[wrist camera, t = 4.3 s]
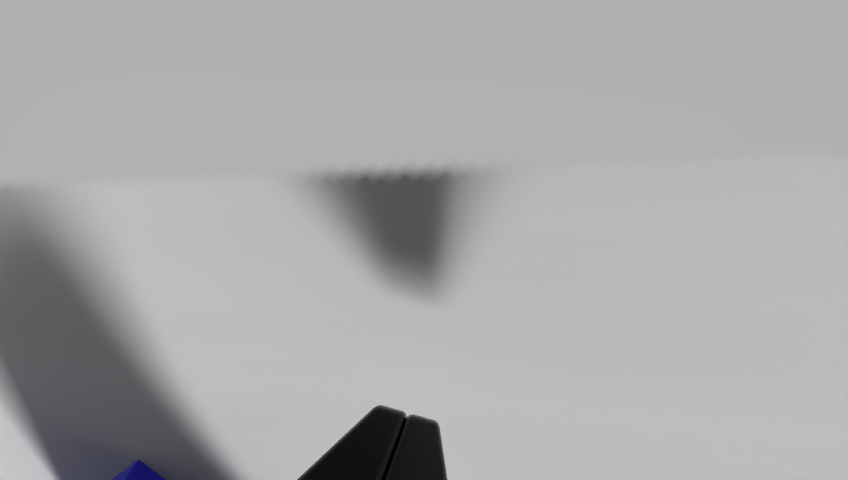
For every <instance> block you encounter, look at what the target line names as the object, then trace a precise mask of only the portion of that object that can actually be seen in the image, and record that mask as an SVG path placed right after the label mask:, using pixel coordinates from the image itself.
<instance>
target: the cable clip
mask: <svg viewBox="0 0 848 480" xmlns="http://www.w3.org/2000/svg"><path fill="white" fill-rule="evenodd" d="M113 480H165V479H164V478H162V477H161V476H160V475H158V474H157V473H156V472H154V471H153V470H152V469H150V468H149V467H148V466H146V465H145V464H144V463H142V462H141V461H140V460H137V461H136V462H135V463H133V464H132V465H131V466H130V467H128V468H127V469H126V470H124V471H123V472H122V473H120V474H119V475H118V476H117V477H115V478H114V479H113Z"/></svg>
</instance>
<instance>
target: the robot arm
mask: <svg viewBox="0 0 848 480" xmlns="http://www.w3.org/2000/svg"><path fill="white" fill-rule="evenodd" d="M297 480H447V475H446V468H445V461H444V455H443V448H442V441H441V434H440V428H439V425H438V423H437V422H436V421H434V420H431V419H427V418H424V417H420V416H417V415H409V416H408V417H407V416H406V414H405V413H404V412H403V411H400V410H396V409H393V408H389V407H386V406H381V405H379V406H376V407H375V408H373V409H372V410H371V411H370V412H369V413H368V414H367V415H366V416H365V417H364V418H362V419H361V420H360V421H359V422H358V423H357V424H356V425H355V426H354V427H353V428H352V429H351V430H350V431H349V432H348V433H346V434H345V435H344V436H343V437H342V438H341V439H340V440H339V441H338V442H337V443H336V444H335V445H334V446H333V447H331V448H330V449H329V450H328V451H327V452H326V453H325V454H324V455H323V456H322V457H321V458H320V459H319V460H318V461H317V462H315V463H314V464H313V465H312V466H311V467H310V468H309V469H308V470H307V471H306V472H305V473H304V474H303V475H302V476H301V477H299V478H298V479H297Z"/></svg>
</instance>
